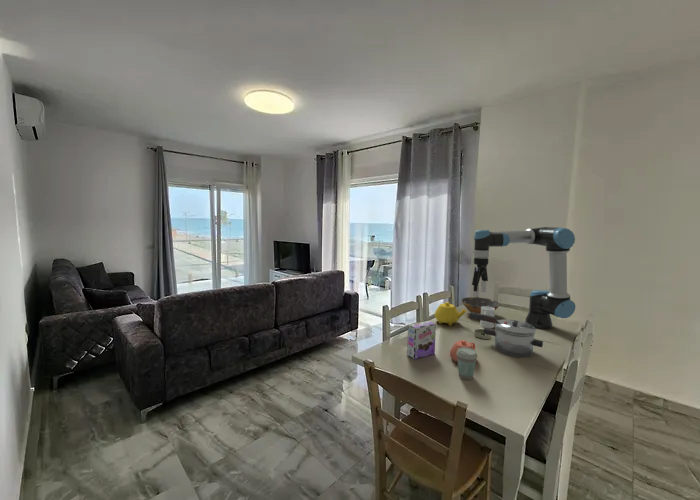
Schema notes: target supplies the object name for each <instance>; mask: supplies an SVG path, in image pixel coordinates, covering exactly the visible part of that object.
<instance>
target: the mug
mask: <svg viewBox="0 0 700 500" xmlns="http://www.w3.org/2000/svg"><path fill="white" fill-rule="evenodd" d="M495 312H496V310H495V308H493V307H488V306H483V307H481V314H484V315H488V316H493V317H495V315H496V314H495ZM479 321H480V323H479V327H482V328H483V329H485V328H488V329H493V328H495V323H491V322H487V321H482V320H479Z"/></svg>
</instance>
